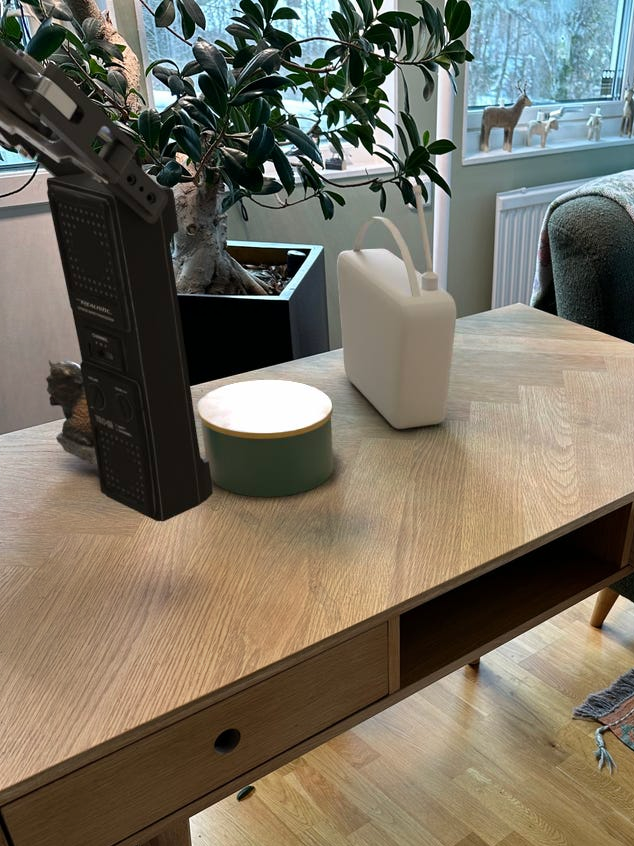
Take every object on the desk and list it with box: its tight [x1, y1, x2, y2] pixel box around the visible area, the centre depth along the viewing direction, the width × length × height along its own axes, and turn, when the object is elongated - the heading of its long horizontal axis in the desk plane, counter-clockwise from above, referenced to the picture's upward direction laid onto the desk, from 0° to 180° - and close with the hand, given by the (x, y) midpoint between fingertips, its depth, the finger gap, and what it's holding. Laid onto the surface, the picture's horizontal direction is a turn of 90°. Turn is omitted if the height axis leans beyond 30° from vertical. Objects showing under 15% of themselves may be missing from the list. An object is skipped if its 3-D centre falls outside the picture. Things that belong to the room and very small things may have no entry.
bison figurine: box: [45, 359, 98, 471], centre depth 88 cm, size 12×7×10 cm, turn 59°
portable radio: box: [46, 143, 214, 523], centre depth 62 cm, size 8×6×25 cm
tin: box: [196, 379, 334, 498], centre depth 91 cm, size 13×13×7 cm
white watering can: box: [336, 184, 457, 430], centre depth 102 cm, size 22×8×25 cm, turn 26°
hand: (124, 198), depth 58 cm, fingers closed on portable radio, 7 cm apart
